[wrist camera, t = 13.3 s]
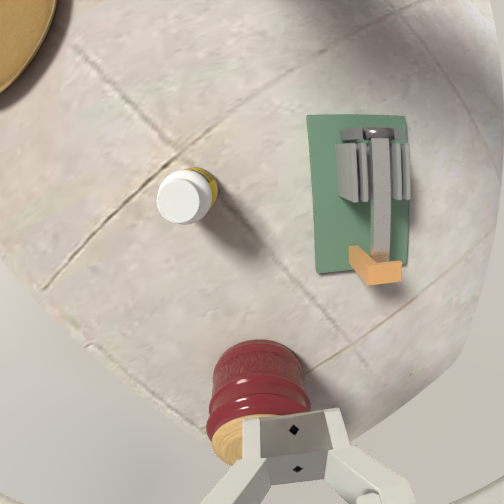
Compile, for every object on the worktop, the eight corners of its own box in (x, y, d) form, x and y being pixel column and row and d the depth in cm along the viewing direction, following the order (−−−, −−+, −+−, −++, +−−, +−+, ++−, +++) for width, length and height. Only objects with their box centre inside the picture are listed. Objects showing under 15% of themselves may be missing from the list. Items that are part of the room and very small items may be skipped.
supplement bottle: (223, 171, 36) (214, 178, 27) (213, 216, 38) (201, 238, 28) (178, 162, 36) (155, 166, 26) (169, 206, 37) (144, 225, 28)
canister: (237, 323, 42) (232, 420, 25) (318, 355, 44) (346, 449, 27) (201, 385, 46) (185, 479, 29) (274, 411, 48) (282, 501, 31)
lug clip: (348, 246, 38) (368, 266, 31) (378, 243, 38) (402, 262, 31) (348, 263, 39) (367, 285, 32) (377, 259, 38) (400, 281, 32)
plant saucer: (78, 46, 31) (66, 40, 27) (-29, 132, 33) (-42, 133, 30) (59, -52, 24) (50, -60, 20) (-39, 29, 26) (-49, 26, 23)
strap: (361, 127, 30) (366, 126, 29) (387, 127, 30) (392, 127, 28) (365, 269, 35) (369, 273, 33) (388, 266, 35) (393, 270, 33)
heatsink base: (306, 116, 34) (317, 109, 28) (401, 116, 34) (426, 113, 28) (315, 270, 40) (326, 291, 34) (403, 260, 40) (425, 278, 34)
